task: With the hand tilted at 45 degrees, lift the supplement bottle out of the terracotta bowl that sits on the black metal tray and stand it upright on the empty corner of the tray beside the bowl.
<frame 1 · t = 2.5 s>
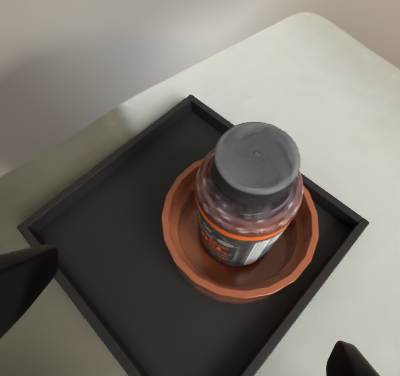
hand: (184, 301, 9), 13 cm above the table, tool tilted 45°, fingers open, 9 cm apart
bowl: (234, 233, 23), resting on tray
supplement bottle: (234, 233, 23), resting on bowl
tray: (192, 231, 24), on the table
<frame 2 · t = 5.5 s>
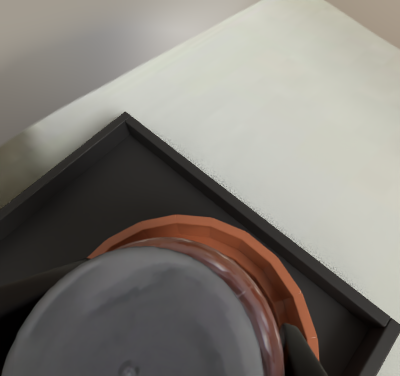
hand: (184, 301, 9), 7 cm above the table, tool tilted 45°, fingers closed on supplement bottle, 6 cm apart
bowl: (185, 341, 15), resting on tray
supplement bottle: (184, 341, 15), resting on bowl, touching gripper
tray: (117, 340, 15), on the table
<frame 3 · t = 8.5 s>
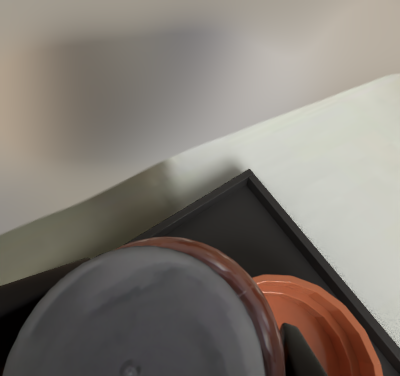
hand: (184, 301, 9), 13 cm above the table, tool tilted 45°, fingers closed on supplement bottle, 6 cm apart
bowl: (270, 365, 19), resting on tray
supplement bottle: (185, 341, 15), point 6 cm above the table, touching gripper
tray: (220, 349, 20), on the table
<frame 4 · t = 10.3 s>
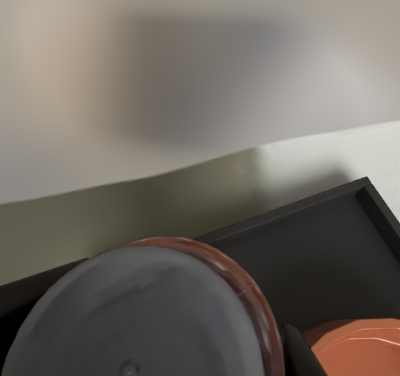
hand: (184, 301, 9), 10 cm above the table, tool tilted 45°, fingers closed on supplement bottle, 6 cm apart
supplement bottle: (184, 340, 15), point 3 cm above the table, touching gripper
when the fingers open (7 cm above the table, at t = 11.6 s): supplement bottle stays where it is, resting on tray.
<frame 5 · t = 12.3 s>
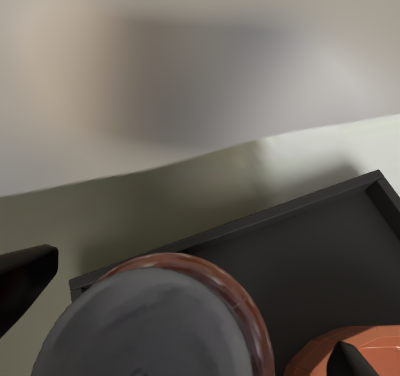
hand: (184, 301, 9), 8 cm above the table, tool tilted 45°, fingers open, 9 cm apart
supplement bottle: (185, 345, 15), resting on tray
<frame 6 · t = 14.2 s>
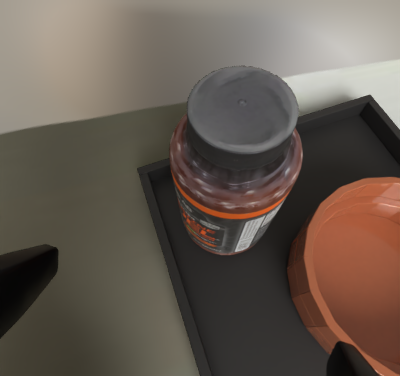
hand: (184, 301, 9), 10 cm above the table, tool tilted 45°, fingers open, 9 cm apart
bowl: (371, 281, 18), resting on tray
supplement bottle: (224, 216, 20), resting on tray
tray: (318, 254, 19), on the table
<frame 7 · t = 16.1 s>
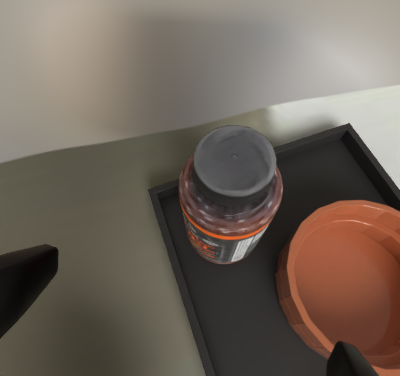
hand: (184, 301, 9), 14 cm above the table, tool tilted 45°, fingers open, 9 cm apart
bowl: (346, 286, 22), resting on tray
supplement bottle: (222, 230, 24), resting on tray
tray: (302, 263, 23), on the table
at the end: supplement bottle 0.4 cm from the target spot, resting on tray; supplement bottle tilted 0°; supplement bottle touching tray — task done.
